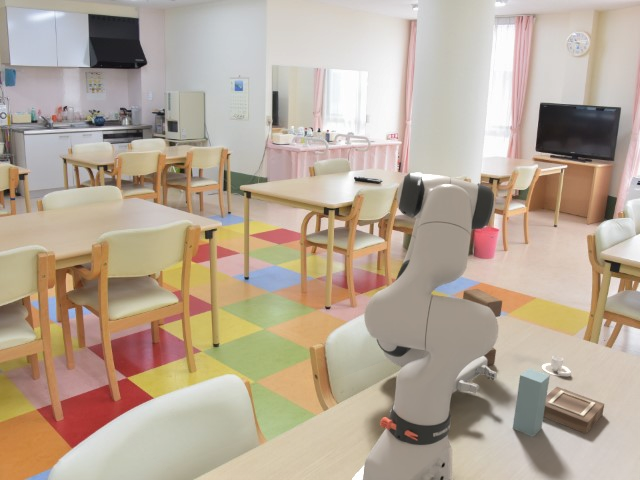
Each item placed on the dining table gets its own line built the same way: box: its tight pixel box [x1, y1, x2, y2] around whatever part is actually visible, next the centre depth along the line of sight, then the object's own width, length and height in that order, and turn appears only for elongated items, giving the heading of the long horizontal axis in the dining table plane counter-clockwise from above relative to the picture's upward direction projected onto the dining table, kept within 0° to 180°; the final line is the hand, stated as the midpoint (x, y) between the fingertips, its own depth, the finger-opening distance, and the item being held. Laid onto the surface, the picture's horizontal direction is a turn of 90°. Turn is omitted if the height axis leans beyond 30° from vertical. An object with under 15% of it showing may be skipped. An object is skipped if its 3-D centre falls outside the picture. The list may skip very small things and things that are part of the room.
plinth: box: [543, 386, 605, 435], centre depth 149 cm, size 12×12×3 cm
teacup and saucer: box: [541, 355, 572, 377], centre depth 172 cm, size 9×8×4 cm
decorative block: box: [462, 288, 503, 367], centre depth 175 cm, size 11×6×20 cm, turn 25°
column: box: [512, 367, 551, 438], centre depth 141 cm, size 5×5×14 cm
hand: (486, 382), depth 148 cm, fingers open, 8 cm apart
